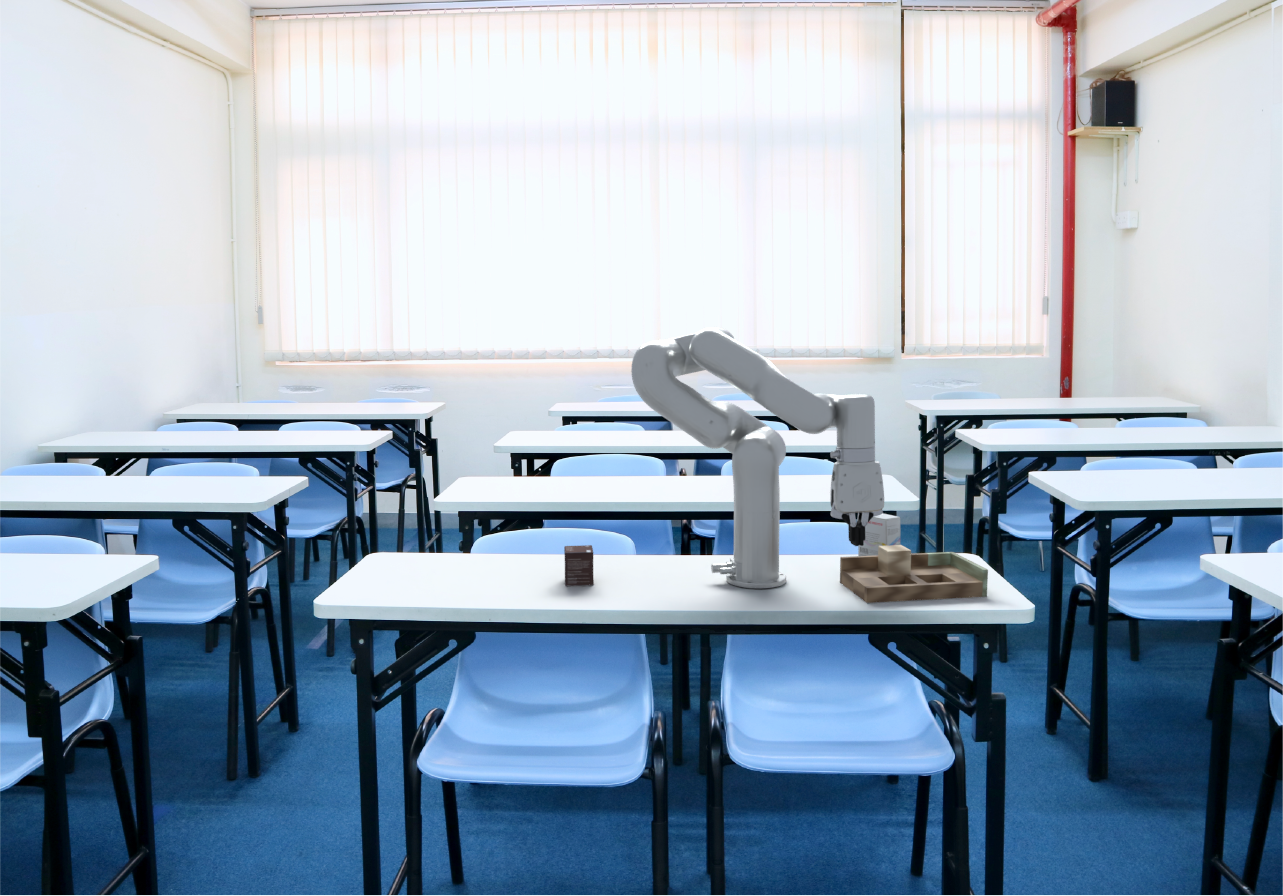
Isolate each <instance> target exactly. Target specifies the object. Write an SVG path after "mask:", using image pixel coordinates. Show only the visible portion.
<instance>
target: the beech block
mask: <svg viewBox="0 0 1283 896" xmlns="http://www.w3.org/2000/svg"><path fill="white" fill-rule="evenodd" d="M911 554H912V549H909V548H907V547H906V546H904V545H902V544H900V545H887V546H878V570H880V571H881V572H883V573H884V574H886V575H908V574H911Z"/></svg>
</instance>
